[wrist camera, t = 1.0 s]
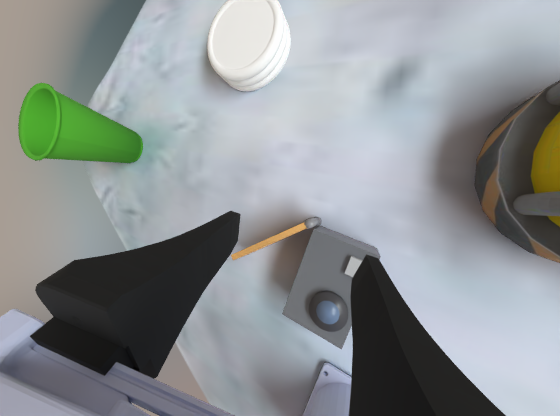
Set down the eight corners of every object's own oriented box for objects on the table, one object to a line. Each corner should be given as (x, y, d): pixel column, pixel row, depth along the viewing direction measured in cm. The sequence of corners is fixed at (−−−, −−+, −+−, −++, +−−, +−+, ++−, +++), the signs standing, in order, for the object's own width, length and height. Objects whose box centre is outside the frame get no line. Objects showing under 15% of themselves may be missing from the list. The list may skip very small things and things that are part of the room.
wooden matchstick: (248, 255, 26) (233, 261, 23) (245, 248, 26) (230, 253, 23) (321, 224, 22) (315, 226, 19) (317, 216, 22) (311, 217, 19)
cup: (126, 112, 35) (30, 72, 25) (159, 133, 32) (66, 97, 22) (109, 160, 37) (11, 141, 26) (139, 184, 34) (42, 173, 24)
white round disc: (292, 83, 25) (282, 64, 21) (222, 100, 28) (204, 85, 25) (292, 1, 25) (281, -31, 22) (222, 27, 28) (204, 4, 25)
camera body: (344, 325, 22) (340, 353, 18) (285, 293, 24) (269, 310, 20) (379, 241, 21) (384, 248, 17) (314, 215, 23) (304, 217, 19)
